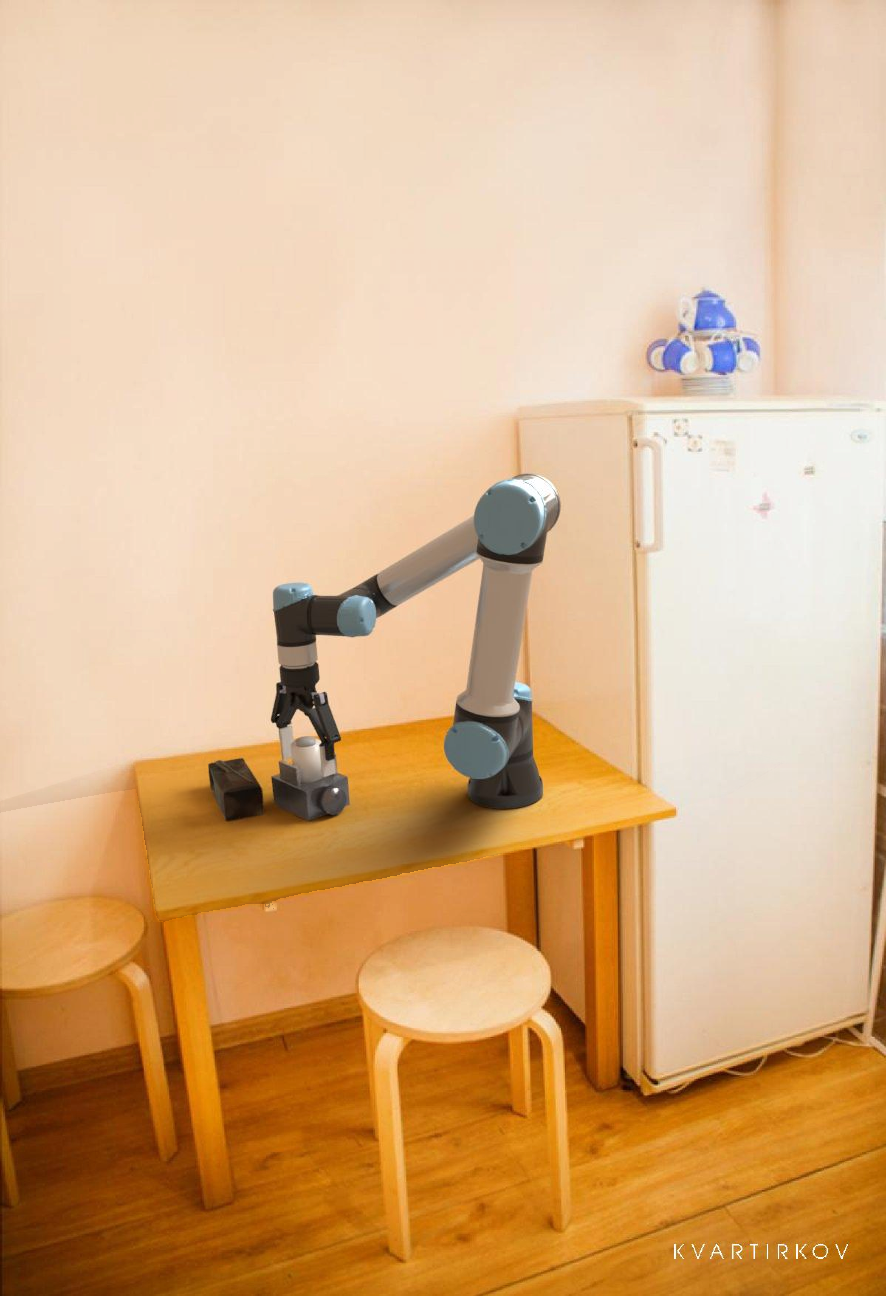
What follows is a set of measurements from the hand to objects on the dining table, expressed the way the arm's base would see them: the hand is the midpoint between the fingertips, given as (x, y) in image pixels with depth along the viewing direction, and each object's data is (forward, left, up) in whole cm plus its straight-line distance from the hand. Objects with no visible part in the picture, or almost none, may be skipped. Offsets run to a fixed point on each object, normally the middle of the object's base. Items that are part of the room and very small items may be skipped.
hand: (308, 766), depth 196 cm
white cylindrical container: (0, 0, -2) cm, 2 cm away
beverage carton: (+14, +9, -9) cm, 18 cm away
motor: (-1, 0, -8) cm, 8 cm away
